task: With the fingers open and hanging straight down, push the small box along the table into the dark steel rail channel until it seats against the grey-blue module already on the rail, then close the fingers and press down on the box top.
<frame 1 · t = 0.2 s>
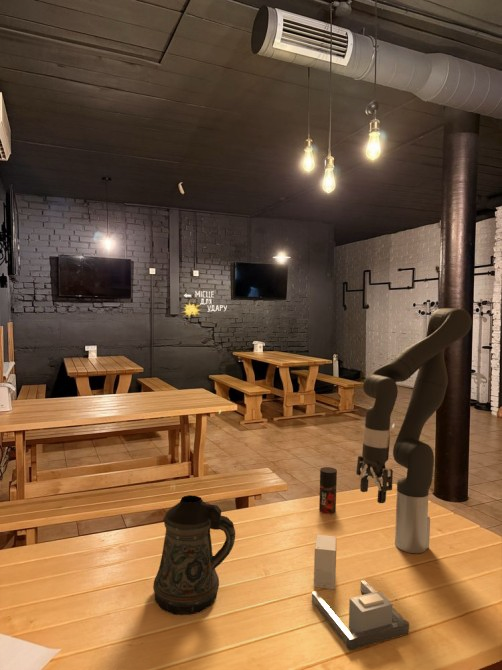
hand: (372, 496, 136), 17 cm above the table, tool pointing down, fingers open, 8 cm apart
beer stein: (192, 594, 117), on the table
rail: (356, 615, 109), on the table
small box: (324, 580, 123), on the table
deodorant: (327, 511, 165), on the table
old module: (369, 630, 104), resting in rail
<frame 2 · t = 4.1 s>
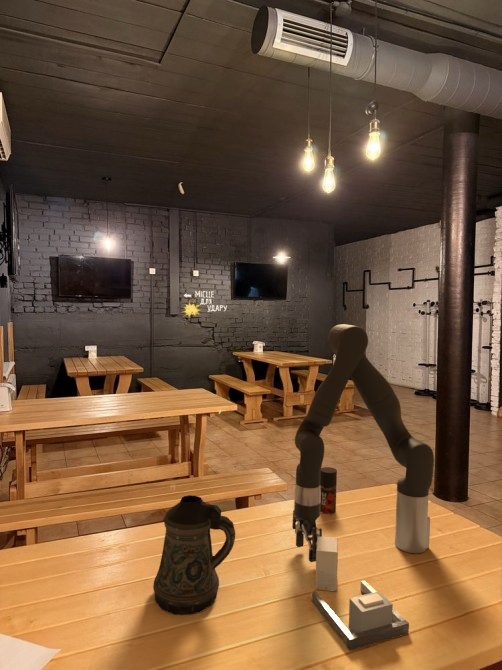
hand: (305, 553, 133), 2 cm above the table, tool pointing down, fingers open, 8 cm apart
nothing on the table moved.
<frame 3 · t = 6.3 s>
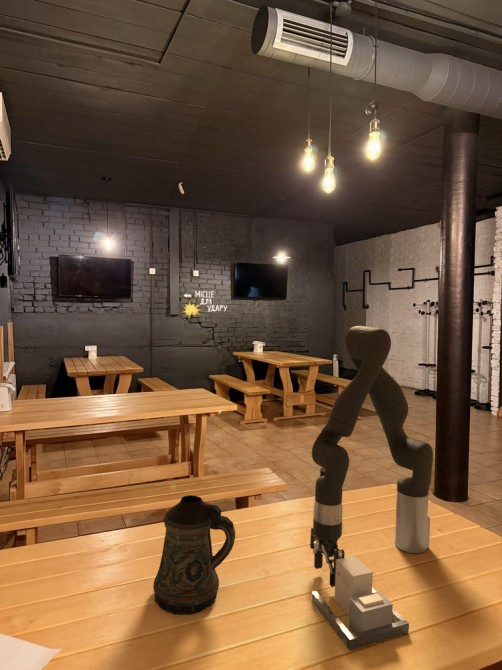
hand: (325, 576, 122), 2 cm above the table, tool pointing down, fingers open, 8 cm apart
small box: (352, 608, 112), resting in rail, touching gripper, hand
everything else where it was.
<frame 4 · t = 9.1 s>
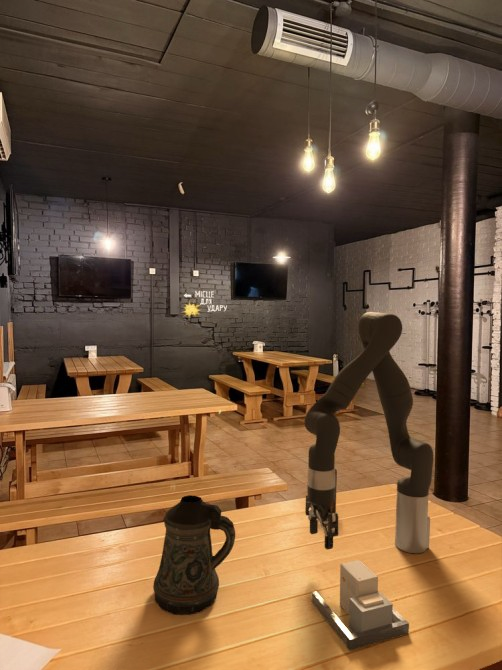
hand: (320, 540, 126), 9 cm above the table, tool pointing down, fingers open, 8 cm apart
small box: (357, 612, 110), resting in rail
everything else where it was.
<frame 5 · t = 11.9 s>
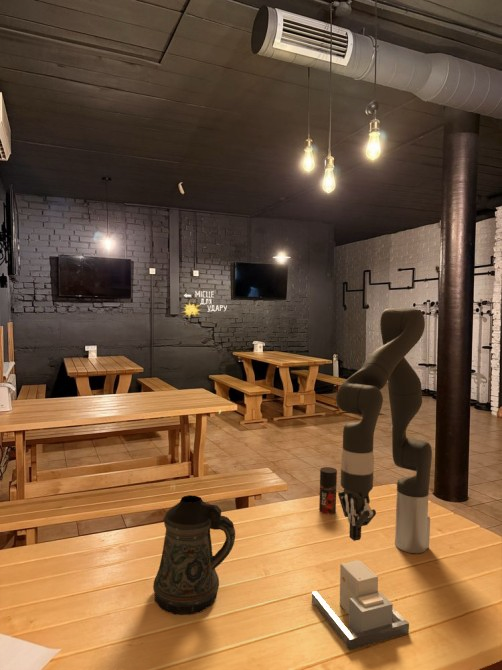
hand: (354, 538, 109), 18 cm above the table, tool pointing down, fingers closed
nothing on the table moved.
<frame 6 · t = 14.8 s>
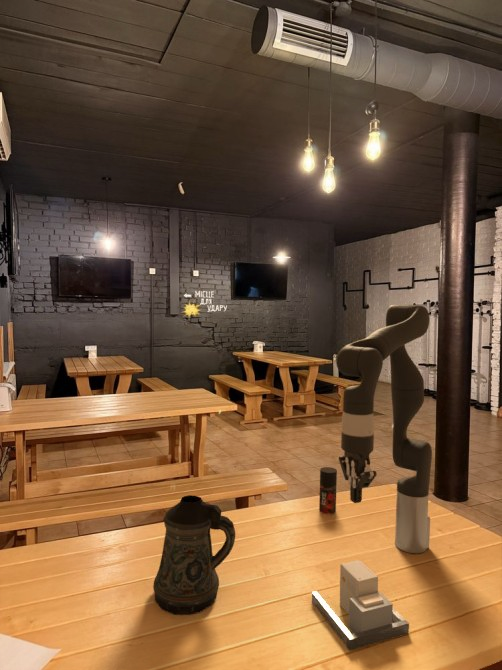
hand: (355, 501, 110), 27 cm above the table, tool pointing down, fingers closed
nothing on the table moved.
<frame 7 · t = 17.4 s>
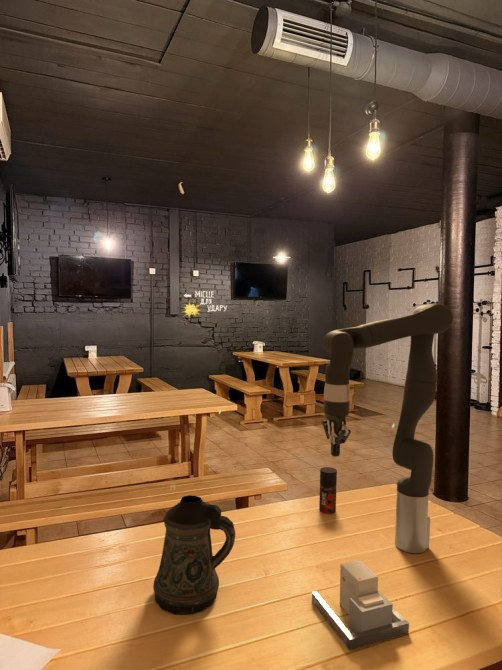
hand: (335, 455, 137), 29 cm above the table, tool pointing down, fingers closed
nothing on the table moved.
at the end: small box inside the target area on the rail (1.3 cm from its centre), point 0.0 cm above the rail's base; small box tilted 0°; the gripper is holding nothing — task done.
